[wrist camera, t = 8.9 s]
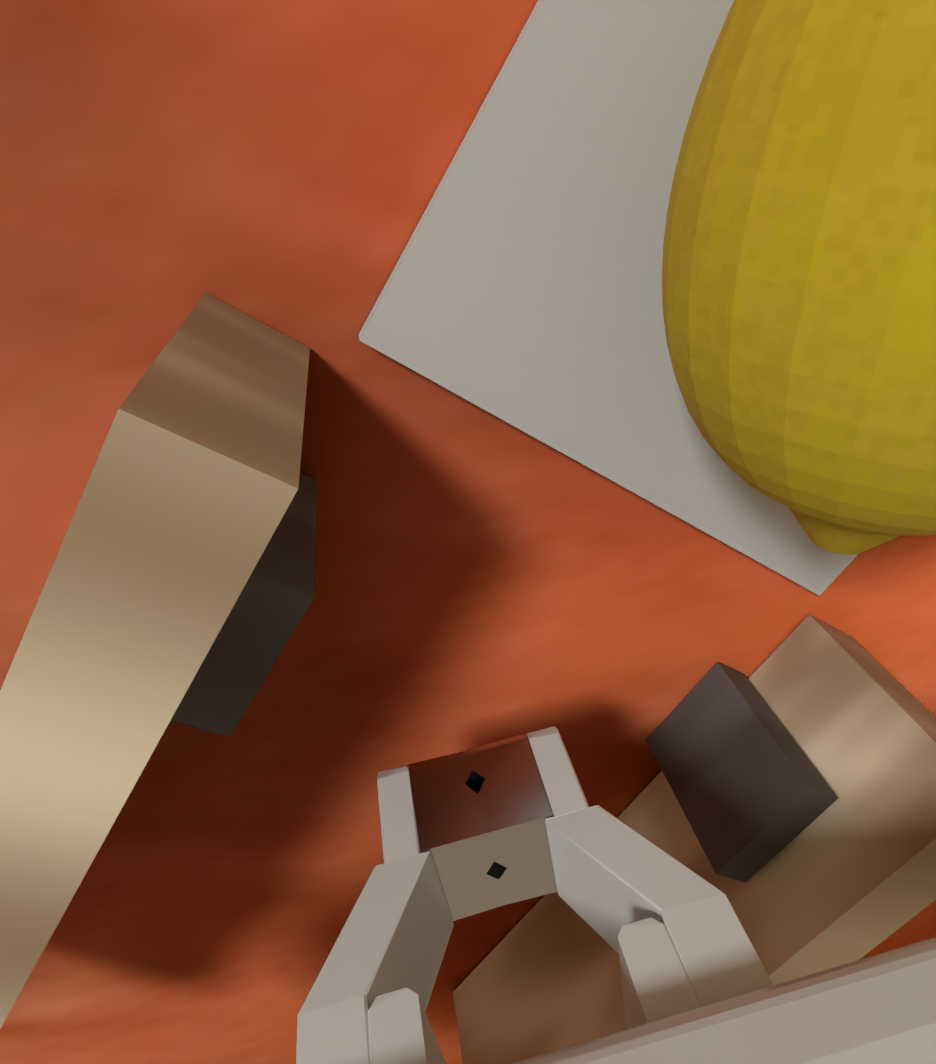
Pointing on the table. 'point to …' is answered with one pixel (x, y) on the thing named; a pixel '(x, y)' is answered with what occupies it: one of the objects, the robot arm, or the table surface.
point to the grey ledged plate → (581, 266)
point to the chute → (270, 620)
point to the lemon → (813, 262)
